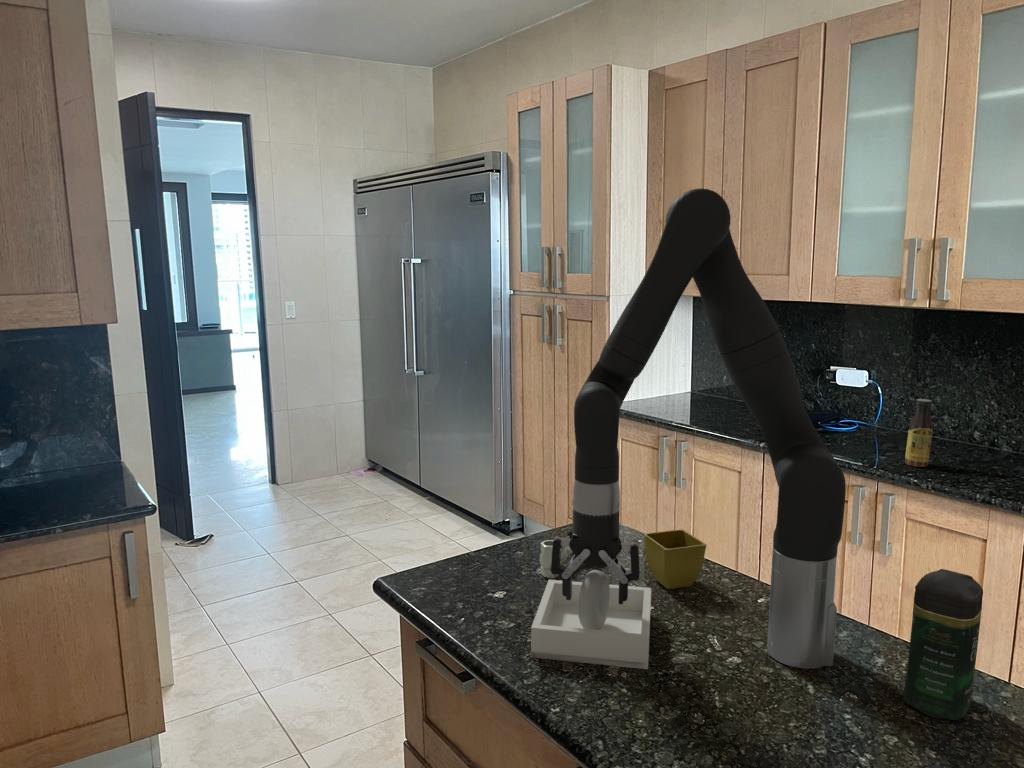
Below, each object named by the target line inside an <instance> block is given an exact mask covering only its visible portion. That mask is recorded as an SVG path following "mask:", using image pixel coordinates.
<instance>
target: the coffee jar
mask: <svg viewBox="0 0 1024 768" xmlns="http://www.w3.org/2000/svg"><path fill="white" fill-rule="evenodd" d="M914 588H915V590H914V595H913V596H914V597H913V606H912V619H911V629H910V639H909V641H910V642H909V649H908V657H907V658H908V659H907V667H906V674H905V685H904V690H903V691H904V693H903V698H904V700H905V702H906V703H907V704H908V705H910V706H911V707H913V708H914V709H915V710H917V711H919V712H920V713H922V714H925V715H927V716H929V717H932V718H935V717H936V718H935V719H945V720H953V721H958V720H960V719H962V718H963V717H965V715H966V714H967V712H968V711H969V709H970V708H971V704H972V694H973V685H974V677H975V676H974V675H975V669H976V662H977V661H976V660H977V653H978V646H979V635H980V627H981V618H982V612H983V598H984V597H983V595H984V589H983V587H982V586H981V584H980V583H979V582H977V580H975V579H974V577H973V576H972V575H969V574H964V573H961V572H957V571H953V570H948V569H945V568H940V569H939V570H938V569H937V570H934V571H931V572H929V573H926V574H924V575H923V576H922V577H921V578H920V579H919V581H918V582H917V583H916V585H915V586H914Z"/></svg>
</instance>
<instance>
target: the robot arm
mask: <svg viewBox="0 0 1024 768" xmlns="http://www.w3.org/2000/svg"><path fill="white" fill-rule="evenodd" d="M731 219H732V218H731V211H730V208H729V206H728V203H727V202H726V200H725V198H723V197H722V195H720V193H718V192H716V191H714V190H712V189H708V188H693V189H690V190H687V191H684V192H682V193H681V194H680V195H678V196H677V197H676V198H675V199H674V200H673V201H672V203H671V204H670V206H669V208H668V209H667V212H666V217H665V225H664V228H663V229H662V230H663V231H662V234H661V237H660V240H659V243H658V245H657V249H656V251H655V253H654V255H653V258H652V260H651V262H650V264H649V267H648V268H647V271H646V272H645V275H644V276H643V278H642V280H641V282H640V283H639V285H638V287H637V288H636V290H635V292H634V293H633V295H631V298H630V299H629V301H628V303H627V304H626V306H625V308H624V309H623V311H622V312H621V314H620V316H619V318H618V319H617V321H616V324H615V325H614V327H613V329H612V331H611V332H610V335H609V336H608V338H607V340H606V343H604V345H603V348H602V350H601V353H600V355H599V358H598V360H597V362H596V363H595V365H594V367H593V369H592V370H591V371H590V373H589V374H588V376H587V379H586V380H585V381H584V384H583V385H582V387H581V388H580V390H579V392H578V394H577V397H576V398H575V401H574V406H573V420H574V421H573V424H574V425H573V426H574V436H575V439H574V440H575V455H574V483H573V488H572V489H573V490H572V498H571V499H572V500H571V501H572V502H571V503H572V504H571V505H572V531H573V534H572V538H571V539H569V537H567V538H566V537H563V536H561V535H560V534H556V535H555V536H554V539H553V540H554V541H553V548H552V562H551V573H552V574H554V575H556V574H557V575H559V576H558V577H561V581H562V594H563V596H566V600H571V597H572V581H573V573H574V572H575V571H577V570H578V569H579V567H580V566H581V565H583V566H585V568H593V567H595V568H598V569H605V568H606V567H608V568H609V570H610V571H611V572H612V574H614V575H615V577H616V578H617V579H618V585H619V604H622V605H623V601H627V598H628V586H629V583H630V582H633V581H634V582H637V581H639V580H640V573H641V572H640V571H641V570H640V569H641V567H640V549H639V548H640V547H639V546H640V545H639V544H640V543H639V541H638V540H636V539H633V540H632V541H631V542H625V541H624V542H623V541H621V539H620V513H621V512H620V510H621V491H620V479H619V478H620V455H619V454H620V453H619V448H618V442H619V427H620V416H621V407H622V405H623V403H624V401H625V398H626V397H627V395H628V394H629V391H630V390H631V387H632V386H633V383H634V381H635V380H636V379H637V378H638V377H639V376H640V375H641V373H642V372H643V371H644V369H645V367H646V366H647V364H648V362H649V361H650V358H651V356H652V354H653V353H654V351H655V349H656V348H657V345H658V344H659V342H660V339H661V338H662V336H663V334H664V332H665V329H666V327H667V326H668V324H669V321H670V319H671V317H672V315H673V314H674V311H675V309H676V307H677V306H678V304H679V301H680V299H681V297H682V295H683V293H684V292H685V290H686V288H687V287H688V285H689V284H690V282H691V280H692V279H693V282H694V283H695V286H696V287H697V289H698V292H699V295H700V298H701V301H702V304H703V308H704V311H705V312H704V313H705V315H706V318H707V320H708V324H709V328H710V331H711V334H712V336H713V340H714V342H715V344H716V348H717V350H718V352H719V354H720V357H721V359H722V361H723V363H724V366H725V368H726V370H727V372H728V375H729V377H730V379H731V381H732V383H733V385H734V387H735V388H736V391H737V392H738V393H739V395H740V397H741V399H742V401H743V402H744V404H745V405H746V406H747V408H748V410H749V411H750V413H751V414H752V416H753V417H754V419H755V421H756V422H757V425H758V427H759V429H760V432H761V434H762V436H763V439H764V442H765V444H766V447H767V450H768V451H767V452H768V454H769V457H770V460H771V463H772V468H773V472H774V476H775V480H776V483H777V486H778V499H777V500H778V501H777V509H776V510H777V514H776V522H775V523H776V525H775V528H774V531H773V537H772V539H773V541H772V556H771V575H770V587H769V588H770V590H769V607H768V608H769V610H768V623H767V625H768V627H767V636H766V637H767V639H766V640H767V642H766V643H767V646H766V649H767V650H766V651H767V653H768V654H769V655H770V657H772V659H775V661H777V662H779V663H782V664H783V665H786V666H789V667H792V668H797V669H805V670H807V669H808V670H809V669H810V670H811V669H813V670H814V669H819V668H823V667H833V666H834V653H835V639H836V629H837V628H836V627H837V613H838V612H837V610H838V609H837V605H836V604H835V600H834V599H835V589H836V588H835V586H836V574H837V573H836V570H837V560H838V547H839V544H840V541H841V539H842V534H843V525H844V515H845V514H844V513H845V506H846V505H845V504H846V496H847V495H846V494H847V492H846V490H847V488H846V487H847V485H846V483H847V482H846V478H845V474H844V472H843V470H842V468H841V466H840V465H839V463H838V462H837V461H836V459H835V458H834V456H833V455H832V454H831V452H830V451H829V450H828V448H827V446H826V445H825V444H824V441H823V440H822V438H821V436H820V435H819V433H818V431H817V429H816V428H815V426H814V424H813V422H812V420H811V418H810V417H809V416H810V415H808V412H807V410H806V407H805V405H804V401H803V397H802V393H801V389H800V384H799V381H798V376H797V373H796V370H795V365H794V363H793V360H792V358H791V354H790V352H789V349H788V347H787V344H786V342H785V339H784V338H783V335H782V333H781V331H780V329H779V328H780V327H779V326H778V324H777V322H776V320H775V318H774V316H773V315H772V313H771V311H770V309H769V308H768V306H767V304H766V302H765V301H764V299H763V297H762V296H761V294H760V293H759V292H758V290H757V288H755V286H754V284H753V283H752V282H751V280H750V278H749V276H748V274H747V273H746V271H745V268H744V266H743V265H742V263H741V260H740V257H739V254H738V252H737V249H736V246H735V243H734V240H733V237H732V234H731V229H730V225H731ZM567 546H570V548H571V550H572V551H573V553H574V554H575V555H574V556H573V555H572V557H571V558H570V560H569V561H568V563H567V564H566V565H565V566H564V565H563V564H561V563H560V561H561V552H563V551H565V548H566V547H567ZM622 551H624V552H625V555H626V556H627V557H629V558H630V570H627V569H626V568H625V566H624V565H623V564H622V561H621V560H620V559H619V557H618V555H620V553H621V552H622Z"/></svg>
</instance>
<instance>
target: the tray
mask: <svg viewBox="0 0 1024 768" xmlns="http://www.w3.org/2000/svg"><path fill="white" fill-rule="evenodd" d="M582 582H583V581H573V580H572V597H571V600H566V596H563V594H562V580H561V579H560V580H557V579H548V581H547V583H546V586H545V589H544V591H543V594H542V597H541V600H540V603H539V604H538V607H537V610H536V612H535V616H534V619H533V621H532V625H531V627H530V629H531V630H530V637H531V638H530V640H531V641H530V642H531V643H530V644H531V645H530V647H531V648H530V652H531V653H530V655H531V656H530V658H534V659H542V660H543V659H545V660H553V661H554V660H555V661H563V662H572V663H575V662H576V663H583V664H590V665H591V664H593V665H601V664H602V665H603V666H611V665H613V666H612V667H619V668H620V667H623V668H629V669H630V668H631V669H632V668H633V669H641V670H649V657H650V656H649V653H650V634H651V633H650V632H651V611H652V610H651V608H652V607H651V606H652V605H651V604H652V587H645V586H632V585H628V598H627V601H623V605H622V604H619V584H609V587H610V600H609V609H608V614H607V618H606V621H605V623H604V625H603V627H602V628H601V629H600V630H592V629H584V628H583V627H582V625H581V624H580V620H579V615H578V601H579V594H580V589H581V585H582ZM602 665H601V666H602Z"/></svg>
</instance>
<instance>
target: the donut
mask: <svg viewBox="0 0 1024 768" xmlns="http://www.w3.org/2000/svg"><path fill="white" fill-rule="evenodd" d="M581 582H582V585H581V589H580V594H579V601H578V615H579V620H580V624H581V625H582V627H583V628H584V629H592V630H600V629H601V628H602V627H603V625H604V623H605V621H606V618H607V614H608V609H609V600H610V587H609V585H610V583H609V579H608V577H607V575H606V573H604V572H603V571H601V570H599V569H593V570H591V571H589V572H588V573H586V575H585V577H584V579H582V581H581Z"/></svg>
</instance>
